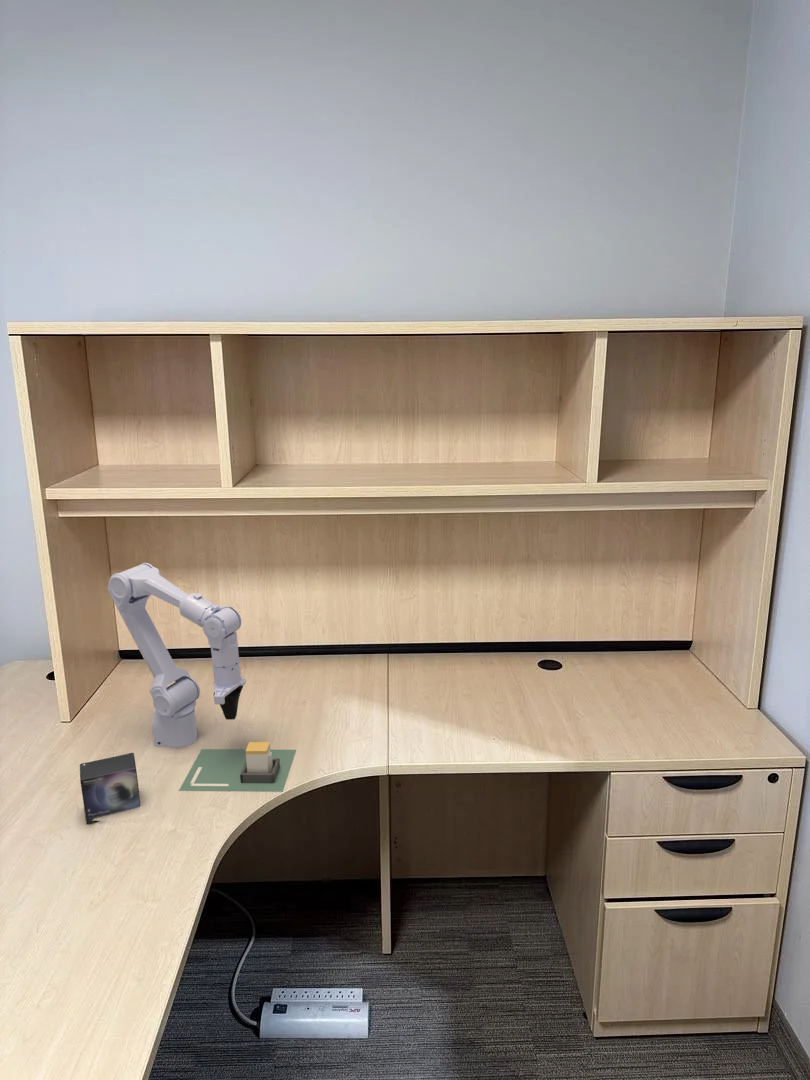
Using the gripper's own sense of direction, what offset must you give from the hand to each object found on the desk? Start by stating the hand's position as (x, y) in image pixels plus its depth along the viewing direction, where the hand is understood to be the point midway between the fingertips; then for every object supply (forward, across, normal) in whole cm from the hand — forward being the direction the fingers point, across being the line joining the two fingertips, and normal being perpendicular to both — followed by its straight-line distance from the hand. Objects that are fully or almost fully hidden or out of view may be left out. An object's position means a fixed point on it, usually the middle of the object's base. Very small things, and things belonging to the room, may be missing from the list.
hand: (231, 718), depth 166 cm
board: (+10, -6, -3) cm, 12 cm away
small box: (+11, -19, +20) cm, 30 cm away
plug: (+9, -8, -8) cm, 14 cm away
